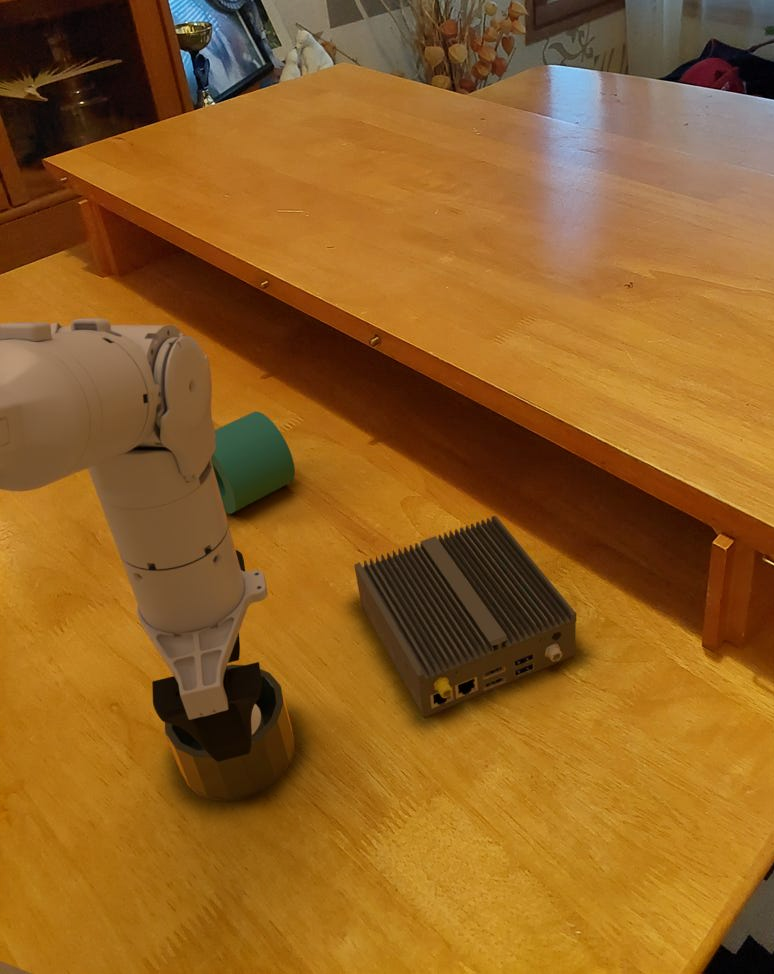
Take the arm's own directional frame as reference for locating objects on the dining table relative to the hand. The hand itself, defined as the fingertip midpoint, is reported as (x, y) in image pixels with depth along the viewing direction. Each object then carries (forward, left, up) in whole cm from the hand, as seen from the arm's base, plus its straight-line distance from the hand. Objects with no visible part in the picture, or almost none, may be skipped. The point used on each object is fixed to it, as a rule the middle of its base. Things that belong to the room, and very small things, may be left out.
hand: (227, 704), depth 57 cm
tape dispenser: (+29, +27, -11) cm, 41 cm away
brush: (+3, +4, -10) cm, 11 cm away
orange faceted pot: (+3, +4, -10) cm, 11 cm away
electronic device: (+20, -5, -11) cm, 23 cm away
